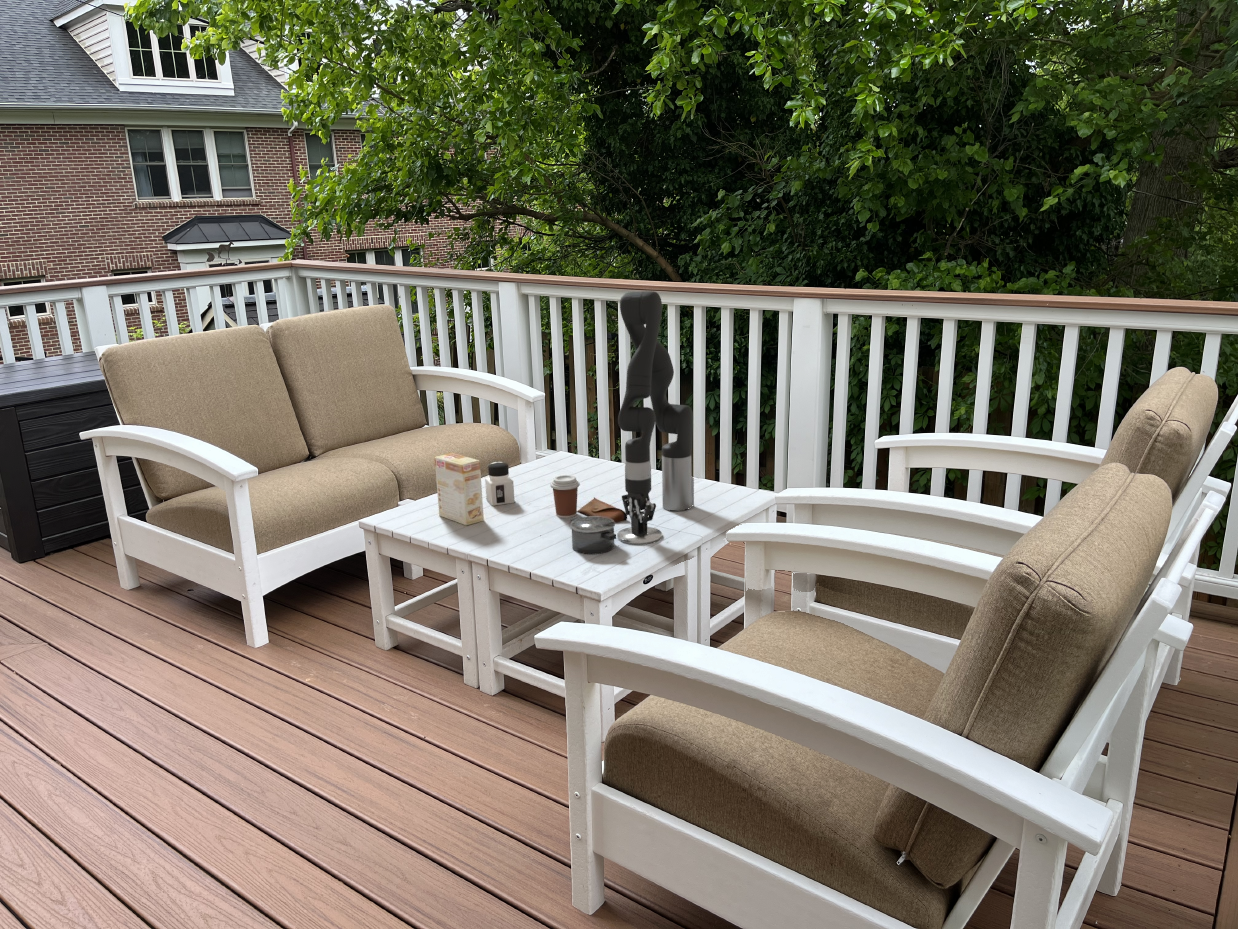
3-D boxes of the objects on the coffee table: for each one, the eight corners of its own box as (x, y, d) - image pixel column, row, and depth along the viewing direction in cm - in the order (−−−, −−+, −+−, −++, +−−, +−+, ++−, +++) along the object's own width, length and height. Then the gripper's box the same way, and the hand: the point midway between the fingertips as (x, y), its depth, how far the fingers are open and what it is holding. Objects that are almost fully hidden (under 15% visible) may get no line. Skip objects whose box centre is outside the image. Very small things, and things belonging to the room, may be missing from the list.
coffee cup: (566, 508, 304) (565, 472, 301) (586, 513, 298) (585, 477, 295) (545, 515, 298) (544, 478, 294) (565, 521, 292) (564, 484, 288)
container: (514, 503, 311) (512, 464, 307) (491, 506, 308) (489, 467, 305) (508, 496, 318) (506, 459, 314) (486, 499, 315) (483, 462, 312)
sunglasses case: (573, 511, 301) (581, 491, 301) (589, 518, 305) (598, 498, 305) (605, 525, 287) (613, 505, 287) (621, 532, 291) (630, 512, 291)
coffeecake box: (484, 520, 295) (480, 460, 289) (466, 526, 290) (461, 464, 285) (456, 510, 305) (452, 451, 300) (438, 515, 300) (433, 456, 295)
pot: (592, 533, 281) (591, 510, 279) (631, 550, 266) (630, 527, 264) (556, 542, 274) (555, 519, 272) (594, 561, 259) (593, 537, 257)
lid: (643, 526, 285) (643, 507, 284) (670, 537, 275) (670, 517, 273) (608, 536, 278) (607, 516, 276) (635, 548, 268) (634, 527, 266)
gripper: (663, 478, 268) (664, 535, 273) (633, 468, 279) (634, 523, 284) (642, 483, 264) (643, 541, 268) (613, 472, 275) (614, 528, 279)
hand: (639, 531), depth 276 cm, fingers closed on lid, 3 cm apart
